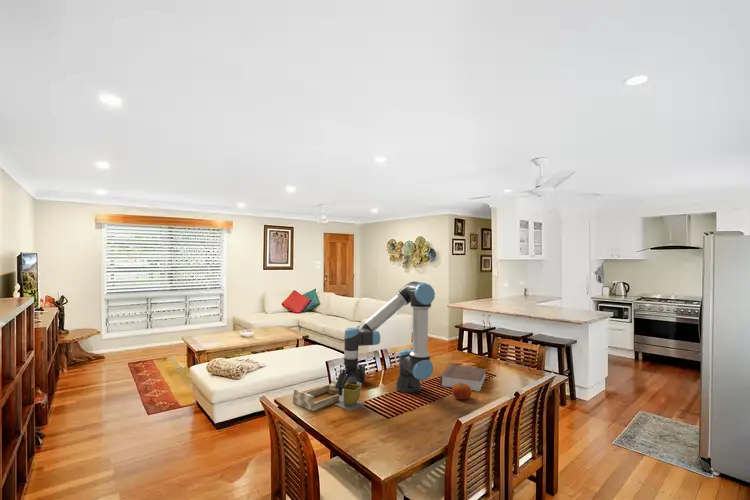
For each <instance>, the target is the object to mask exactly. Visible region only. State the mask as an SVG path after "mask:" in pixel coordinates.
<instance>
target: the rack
mask: <svg viewBox="0 0 750 500" xmlns="http://www.w3.org/2000/svg"><path fill="white" fill-rule="evenodd" d="M330 384H331V383H328V384H325V385H322V386H319V387H316V388H313V389H311V390H307V391H301V390H298V389H295V388H294V389H293V395H292V403H293V404H296V405H298V406H300V407H302V408H304V409H307V410H309V411H312V412H314V411H317V410H319V409H323V408H325V407H328V406H330V405H332V404H333V405H334V404H336V403H338V402H340V401H339V394H337V395H334V394H333V395H332V396H329V397H326V398H323V399H320V400H318V401H315V397H316V396H319V395H321V394H325V393H328V389H329V388H330Z"/></svg>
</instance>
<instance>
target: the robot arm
mask: <svg viewBox="0 0 750 500" xmlns="http://www.w3.org/2000/svg"><path fill="white" fill-rule="evenodd" d="M435 297H436V292H435V289H434V288H433V286H432V285H431V284H428V283H426V282H421V281H411V282H408V283H407V284H405V285H403V286H402V287H401V288H400V289H398V291H396V293H395V295H394V296H393V298H391V299H390V300H389V301H388V302H387V303H385V304H384V305H383V306H381V308H380V309H378V310H377V311H376V312H375V313H373V314H372V316H371V317H369V318H367V320H366V321H365V322H364V323H362V324H361V325H357V326H355V327H347V328H345V330H344V337H343V338H344V341H343V342H344V349H343V350H344V353H343V354H344V355H343V356H344V358H343V365H344V368H340V369H339V374H338V375H339V376H338V378H337V379H336V380H337V383H336V387H335V388H337V389H339V390H338V394H339V401H338V402H344V389H343V387H344V385H345V383H346V384H347V381H348V378H349V377H350V376H351V375H354V376H355V377H356V379H357V380H358V382H357V383H356V385H360V386H361V389H362V388H363V384H362V383H363V382H364V381H363V380H365V381H366V377H365V378H364V375H363V372H362V369H361V365H360V363H359V347H362V346H365V347H367V346H377V345H378V346H379V344H380V343H381V334H380V332H379V331H378V329H379V328H380V327H381V326H382V325H384V324H385V323H386V322H387V321H389V319H390V318H391V317H393V316H394V315H395V314H396V313H397V312H398V311H399V310H400V309H401V308H403V307H404V306H407V305H409V304H410V307H411V308H412V309H413V311H412V346H411V347H412V349H402V350H400V351H399V354H398V355H399V356H398V358H399V359H398V360H399V363H398V364H399V366H398V370H399V371H398V378H397V381H396V384H395V389H396V390H398V391H399V392H402V393H408V394H413V393H418V392H420V391H421V390H422V384H421V381H425V380H427V379H429V378H430V377H431V376H432V374H433V373H434V365H433V363H432V361H431V354H430V353H429V352H428V342H429V339H428V336H429V309H430V308H431V307H432V302H433V301H434V300H435ZM357 371H358V372H357ZM364 383H365V382H364ZM360 396H362V391H361V392H360Z"/></svg>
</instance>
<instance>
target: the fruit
mask: <svg viewBox="0 0 750 500" xmlns="http://www.w3.org/2000/svg"><path fill="white" fill-rule="evenodd" d="M451 389H452V390H451V391H452V395H453V397H454V398H455V399H458V400H467V399H468V398H470V397H471V395H472V390H471V388H470V387H469V386H468V385H467V384H465V383H457V384H455V385H454V386H453V388H452V387H451Z"/></svg>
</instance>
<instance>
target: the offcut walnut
mask: <svg viewBox="0 0 750 500" xmlns="http://www.w3.org/2000/svg"><path fill="white" fill-rule="evenodd" d="M327 393H328V394H331V395H334V394H335V395H337V394H338V391H337V390H329V389H328V392H327Z"/></svg>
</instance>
